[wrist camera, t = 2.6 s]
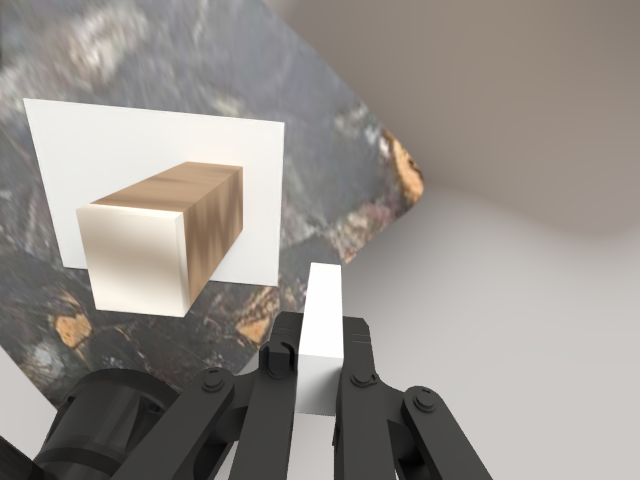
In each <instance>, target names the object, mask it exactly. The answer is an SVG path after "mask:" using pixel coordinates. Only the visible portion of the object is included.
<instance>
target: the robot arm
mask: <svg viewBox="0 0 640 480" xmlns="http://www.w3.org/2000/svg"><path fill="white" fill-rule="evenodd" d="M341 295H342V294H341V265H331V264H321V263H311V269H310V276H309V283H308V290H307V297H306V304H305V311H304V313H295V312H285V311H282V312H281V313H280V314H279V315H278V316H277V317H276V318H275V322H274V326H273V329H272V333H271V337H270V341H268V342H266V343H265V344H263V345H262V346H261V348H260V350H259V368H258V369H257V370H255V371H253V372H251V373H248V374H244V375H239V376H233V374H232V373H231V372H230V371H229V370H227V369H225V368H219V367H215V368H209V369H207V370H204V371H202V372H201V373H199V374H198V375H197V376H196V377H195V378H194V379H193V380H192V382H191V383H190V384H189V385H188V386H187V388H186V389H185V390H184V391H183V392H182V394H181V395H180V396H179V395H178V394H177V393H176V392H175V391H174V390H172V389H171V388H170V387H169V386H167V385H166V384H164V383H163V382H161V381H160V380H158V379H156V378H154V377H152V376H149V375H147V374H144V373H141V372H137V371H133V370H127V369H105V370H100V371H96V372H93V373H91V374H89V375H87V376H85V377H84V378H82V379H81V380H80V381H79V382H78V383H77V384H76V385H75V386H74V388H73V389H72V390H71V391H70V392H69V393H68V394H67V396H66V397H65V398H64V400H63V401H62V403H61V405H60V408H59V410H58V412H57V414H56V417H55V419H54V421H53V423H52V426H51V428H50V430H49V432H48V434H47V437H46V439H45V441H44V444H43V446H42V448H41V450H40V452H39V453H38V455H37V456H36V457H35V459H34V460H33V461H32V460H31V459H30V458H28V457H27V456H26V455H25V454H23V453H22V452H21V451H19V450H18V449H17V448H16V447H14V446H13V445H12V444H11V443H9V442H8V441H7V440H5V439H4V438H3V437H2V436H0V480H214V478H215V476H216V474H217V473H218V471H219V469H220V467H221V465H222V464H223V462H224V460H225V458H226V456H227V455H228V453H229V451H230V449H231V447H232V446H233V443H234V441H239V442H238V446H237V450H236V453H235V457H234V460H233V464H232V468H231V471H230V475H229V478H228V480H286V479H287V471H288V463H289V455H290V447H291V438H292V431H293V420H294V412H295V413H306V414H315V415H325V416H335V413H336V422H335V429H334V436H333V442H332V446H334V480H396V475H395V470H396V473H397V475H398V478H399V480H493V479H492V478H491V476H490V474H489V473H488V471H487V469H486V468H485V466H484V465H483V463H482V462H481V460H480V458H479V457H478V455H477V454H476V452H475V450H474V449H473V447H472V446H471V444H470V442H469V441H468V439H467V438H466V436H465V434H464V433H463V431H462V430H461V428H460V426H459V425H458V423H457V422H456V420H455V419H454V417H453V415H452V414H451V412H450V410H449V409H448V407H447V406H446V404H445V402H444V401H443V399H442V398H441V397H440V396H439V395H438V394H437V393H436V392H434V391H433V390H431V389H429V388H426V387H423V386H414V387H410V388H408V389H407V390H406V391H405V392H402V391H399V390H397V389H394V388H392V387H390V386H388V385H386V384H385V383H384V382H382V381H381V380H380V378H379V375H378V374H377V373H376V371H375V366H374V359H373V352H372V345H371V339H370V332H369V326H368V325H367V324H366V322H365V321H364V319H363V318H355V317H345V316H342V296H341Z"/></svg>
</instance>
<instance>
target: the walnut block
mask: <svg viewBox="0 0 640 480" xmlns="http://www.w3.org/2000/svg"><path fill="white" fill-rule="evenodd" d="M75 210H76V215H77V220H78V224H79V229H80V234H81V239H82V243H83V248H84V253H85V258H86V262H87V267H88V272H89V276H90V281H91V286H92V291H93V295H94V300H95V305H96V309H99V310H110V311H121V312H132V313H143V314H154V315H165V316H176V317H184V316H185V314H186V313H187V311H188V310H189V308H190V307H191V305H192V304H193V303H194V301H195V300H196V298H197V297H198V295H199V294H200V292H201V291H202V289H203V288H204V286H205V285H206V283H207V282H208V280H209V279H210V277H211V276H212V274H213V273H214V271H215V270H216V269H217V267H218V266H219V264H220V263H221V261H222V260H223V258H224V257H225V255H226V254H227V252H228V251H229V249H230V248H231V246H232V245H233V243H234V242H235V240H236V239H237V237H238V236H239V234H240V233H241V232H242V230H243V167H242V166H232V165H221V164H210V163H199V162H189V161H186V162H184V163H182V164H179V165H177V166H175V167H172V168H170V169H168V170H165V171H163V172H161V173H159V174H156V175H154V176H152V177H149V178H147V179H145V180H142V181H140V182H138V183H135V184H133V185H131V186H128V187H126V188H124V189H121V190H119V191H117V192H115V193H112V194H110V195H108V196H105V197H103V198H101V199H98V200H96V201H94V202H91V203H89V204H87V205H84V206H82V207H80V208H78V209H75Z"/></svg>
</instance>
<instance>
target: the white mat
mask: <svg viewBox="0 0 640 480" xmlns="http://www.w3.org/2000/svg"><path fill="white" fill-rule="evenodd" d="M23 101H24V105H25V109H26V113H27V117H28V121H29V125H30V130H31V134H32V138H33V142H34V146H35V150H36V154H37V158H38V163H39V167H40V171H41V175H42V179H43V183H44V187H45V191H46V196H47V200H48V204H49V208H50V212H51V216H52V220H53V224H54V229H55V233H56V237H57V241H58V245H59V249H60V253H61V257H62V262H63V266H64V267H70V268H81V269H88V267H87V262H86V258H85V253H84V248H83V243H82V239H81V234H80V229H79V224H78V220H77V215H76V210H75V209H78V208H80V207H82V206H84V205H87V204H89V203H91V202H94V201H96V200H98V199H101V198H103V197H105V196H108V195H110V194H112V193H115V192H117V191H119V190H121V189H124V188H126V187H128V186H131V185H133V184H135V183H138V182H140V181H142V180H145V179H147V178H149V177H152V176H154V175H156V174H159V173H161V172H163V171H165V170H168V169H170V168H172V167H175V166H177V165H179V164H182V163H184V162H186V161H189V162H199V163H210V164H221V165H232V166H242V167H243V230H242V232H241V233H240V234H239V236H238V237H237V239H236V240H235V242H234V243H233V245H232V246H231V248H230V249H229V251H228V252H227V254H226V255H225V257H224V258H223V260H222V261H221V263H220V264H219V266H218V267H217V269H216V270H215V271H214V273H213V274H212V276H211V277H210V279H209V280H213V281H224V282H235V283H246V284H257V285H268V286H277V285H278V266H279V243H280V219H281V196H282V172H283V149H284V125H285V123H284V122H274V121H263V120H252V119H242V118H231V117H220V116H210V115H199V114H188V113H178V112H167V111H156V110H146V109H135V108H125V107H114V106H103V105H93V104H82V103H71V102H61V101H50V100H39V99H29V98H23Z"/></svg>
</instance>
